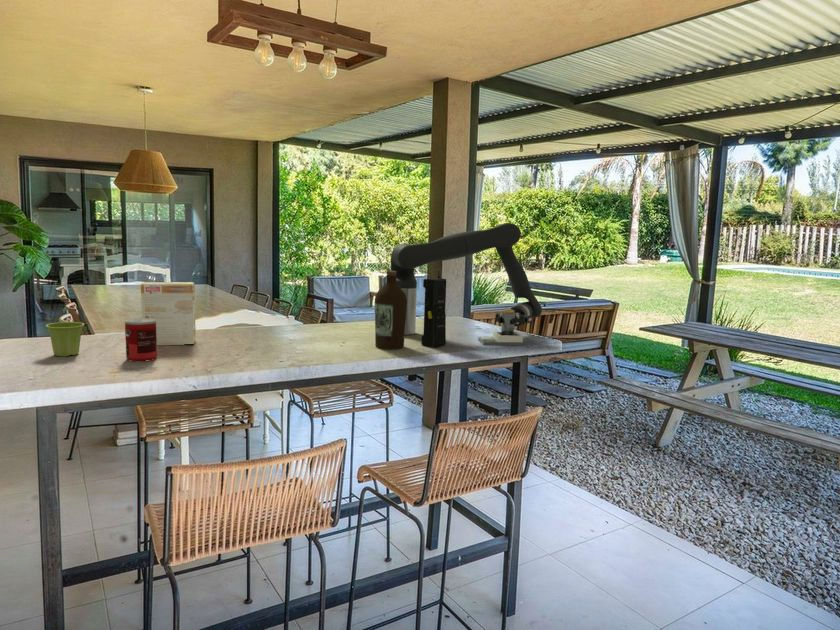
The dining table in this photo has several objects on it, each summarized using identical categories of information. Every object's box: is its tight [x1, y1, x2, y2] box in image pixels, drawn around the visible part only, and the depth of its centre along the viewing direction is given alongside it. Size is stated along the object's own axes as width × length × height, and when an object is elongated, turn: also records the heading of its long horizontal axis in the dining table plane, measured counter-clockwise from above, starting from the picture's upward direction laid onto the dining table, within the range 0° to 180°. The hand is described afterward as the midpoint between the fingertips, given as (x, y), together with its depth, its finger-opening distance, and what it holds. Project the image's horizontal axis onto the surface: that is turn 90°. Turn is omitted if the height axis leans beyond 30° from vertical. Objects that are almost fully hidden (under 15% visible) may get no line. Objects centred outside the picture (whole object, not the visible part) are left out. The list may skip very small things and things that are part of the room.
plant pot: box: [45, 321, 85, 357], centre depth 167 cm, size 9×9×9 cm
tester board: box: [477, 331, 524, 346], centre depth 209 cm, size 14×9×3 cm, turn 97°
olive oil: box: [374, 270, 407, 350], centre depth 193 cm, size 11×11×25 cm
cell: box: [500, 307, 515, 336], centre depth 208 cm, size 4×4×11 cm
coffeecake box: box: [140, 281, 197, 346], centre depth 187 cm, size 15×7×20 cm, turn 105°
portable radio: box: [420, 270, 447, 348], centre depth 198 cm, size 8×6×25 cm
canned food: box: [124, 317, 158, 362], centre depth 165 cm, size 8×8×11 cm
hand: (506, 320), depth 206 cm, fingers closed on cell, 4 cm apart
